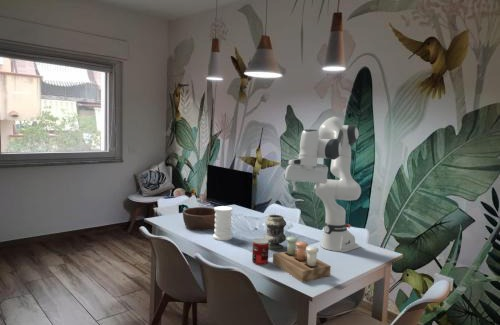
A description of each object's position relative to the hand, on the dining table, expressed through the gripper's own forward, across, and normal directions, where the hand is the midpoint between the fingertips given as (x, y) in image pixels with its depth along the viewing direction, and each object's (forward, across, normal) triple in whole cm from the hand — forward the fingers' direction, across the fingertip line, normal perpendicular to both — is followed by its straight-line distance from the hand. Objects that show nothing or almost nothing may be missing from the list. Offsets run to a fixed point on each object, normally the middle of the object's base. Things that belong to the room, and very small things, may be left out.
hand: (304, 191), depth 170 cm
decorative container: (+33, +32, -53) cm, 71 cm away
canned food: (+38, +16, -14) cm, 43 cm away
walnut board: (+37, -2, -4) cm, 38 cm away
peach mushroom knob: (+32, -2, -3) cm, 32 cm away
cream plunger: (+33, -5, +4) cm, 34 cm away
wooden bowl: (+31, +45, -77) cm, 95 cm away
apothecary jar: (+34, +4, -35) cm, 49 cm away
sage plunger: (+31, +1, -10) cm, 33 cm away
